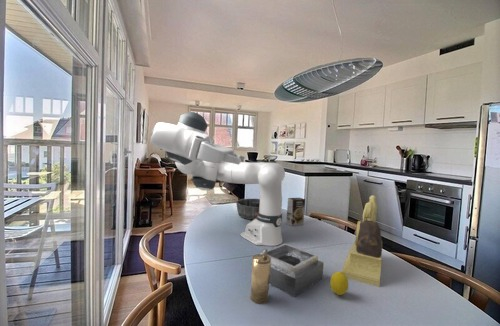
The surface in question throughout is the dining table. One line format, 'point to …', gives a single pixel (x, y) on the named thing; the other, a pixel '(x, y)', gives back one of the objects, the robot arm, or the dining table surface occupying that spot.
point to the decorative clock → (366, 249)
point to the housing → (293, 269)
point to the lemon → (339, 283)
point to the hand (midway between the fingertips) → (242, 160)
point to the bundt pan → (248, 208)
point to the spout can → (260, 278)
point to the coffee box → (295, 211)
